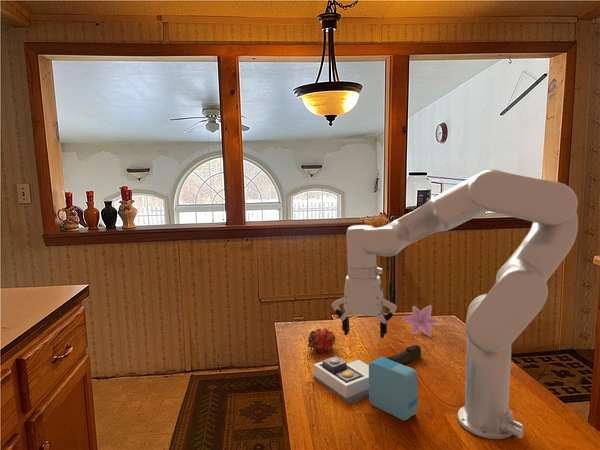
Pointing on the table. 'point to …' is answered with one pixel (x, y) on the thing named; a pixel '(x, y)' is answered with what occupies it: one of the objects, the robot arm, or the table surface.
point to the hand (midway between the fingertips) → (364, 334)
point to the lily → (421, 320)
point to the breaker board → (344, 390)
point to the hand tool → (407, 355)
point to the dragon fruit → (321, 340)
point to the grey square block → (334, 365)
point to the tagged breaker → (347, 375)
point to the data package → (393, 388)
